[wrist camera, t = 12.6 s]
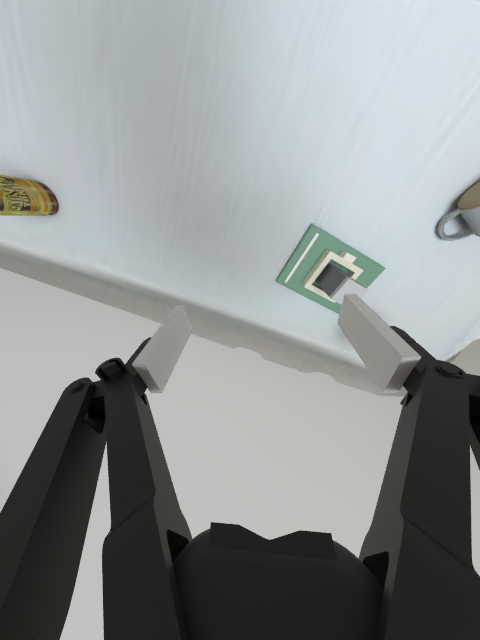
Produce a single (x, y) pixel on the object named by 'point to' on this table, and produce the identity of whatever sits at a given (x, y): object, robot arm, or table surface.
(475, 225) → the ceramic mug
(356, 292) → the plug
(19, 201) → the sauce bottle
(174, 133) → the table surface
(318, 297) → the board
